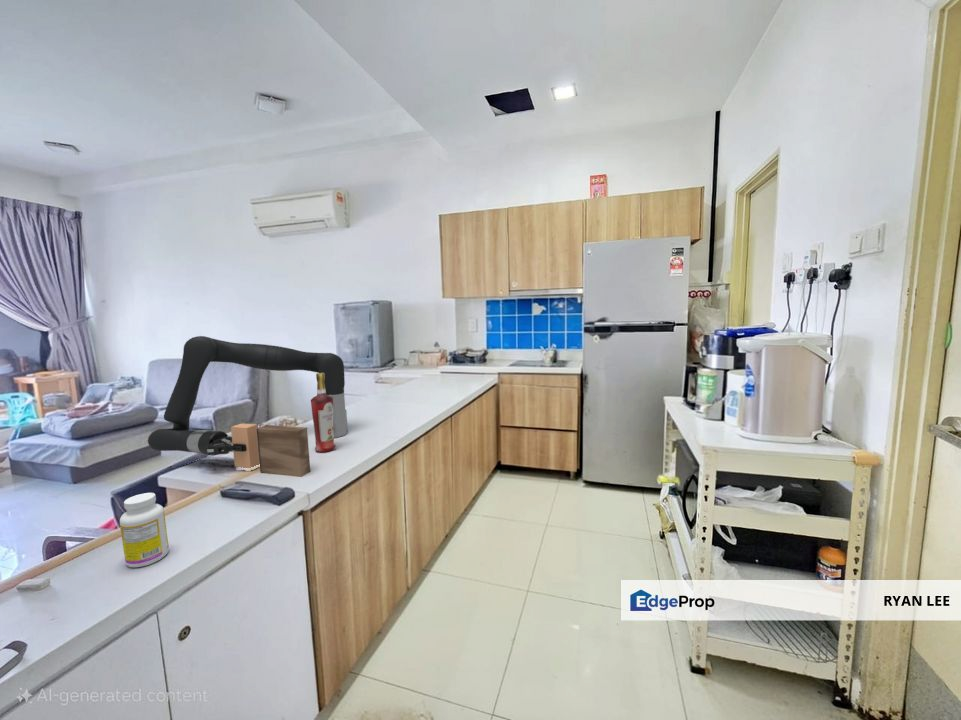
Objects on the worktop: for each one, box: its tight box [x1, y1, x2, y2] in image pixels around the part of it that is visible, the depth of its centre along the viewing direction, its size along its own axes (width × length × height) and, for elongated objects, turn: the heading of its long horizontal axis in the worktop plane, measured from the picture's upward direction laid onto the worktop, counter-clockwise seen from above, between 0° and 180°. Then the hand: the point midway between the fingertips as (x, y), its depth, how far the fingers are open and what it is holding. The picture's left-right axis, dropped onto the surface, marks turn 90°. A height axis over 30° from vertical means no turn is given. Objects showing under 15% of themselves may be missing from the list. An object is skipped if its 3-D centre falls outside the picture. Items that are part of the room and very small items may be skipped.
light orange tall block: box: [230, 423, 260, 468], centre depth 121 cm, size 4×6×14 cm, turn 76°
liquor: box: [310, 372, 336, 453], centre depth 136 cm, size 7×7×28 cm
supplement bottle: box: [119, 492, 170, 568], centre depth 77 cm, size 7×7×13 cm
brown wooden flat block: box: [257, 424, 311, 478], centre depth 118 cm, size 4×15×14 cm, turn 76°
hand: (251, 445), depth 121 cm, fingers closed on light orange tall block, 4 cm apart
